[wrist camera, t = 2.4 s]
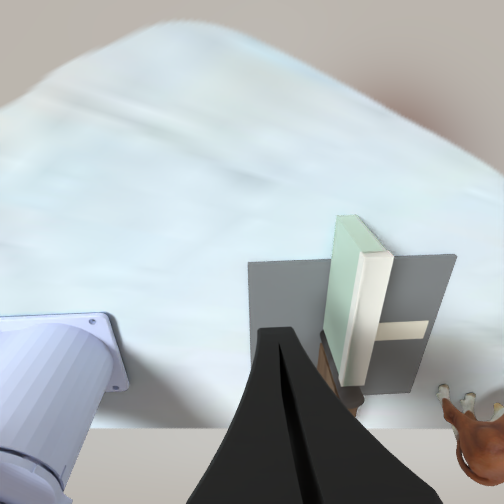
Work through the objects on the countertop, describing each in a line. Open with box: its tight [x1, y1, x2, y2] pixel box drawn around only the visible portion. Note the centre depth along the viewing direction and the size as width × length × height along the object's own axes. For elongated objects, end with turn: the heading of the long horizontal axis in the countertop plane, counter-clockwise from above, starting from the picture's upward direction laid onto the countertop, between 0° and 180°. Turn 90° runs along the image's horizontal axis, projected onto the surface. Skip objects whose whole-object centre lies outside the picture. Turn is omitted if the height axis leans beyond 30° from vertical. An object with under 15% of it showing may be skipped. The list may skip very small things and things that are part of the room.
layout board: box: [248, 254, 457, 395], centre depth 25 cm, size 14×14×1 cm
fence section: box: [317, 330, 364, 417], centre depth 24 cm, size 1×9×6 cm, turn 1°
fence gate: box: [323, 215, 394, 387], centre depth 19 cm, size 9×1×5 cm, turn 1°
